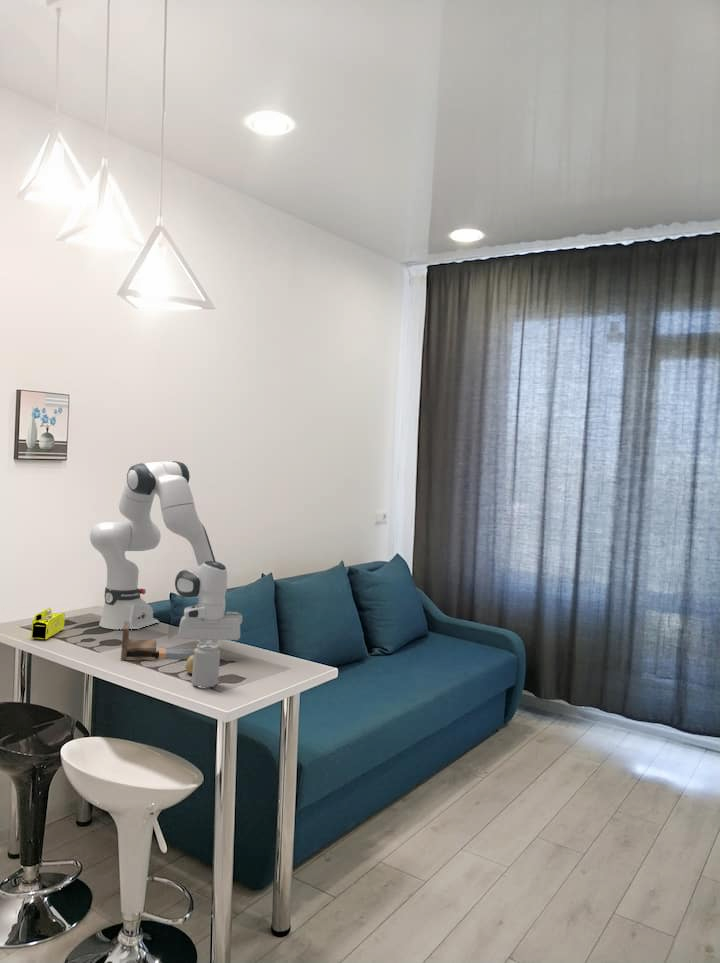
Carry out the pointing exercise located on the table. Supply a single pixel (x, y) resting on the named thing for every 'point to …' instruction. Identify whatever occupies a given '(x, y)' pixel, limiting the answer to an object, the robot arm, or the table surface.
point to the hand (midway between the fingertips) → (207, 652)
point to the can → (206, 665)
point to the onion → (190, 663)
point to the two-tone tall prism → (175, 653)
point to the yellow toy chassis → (47, 624)
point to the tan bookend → (136, 645)
